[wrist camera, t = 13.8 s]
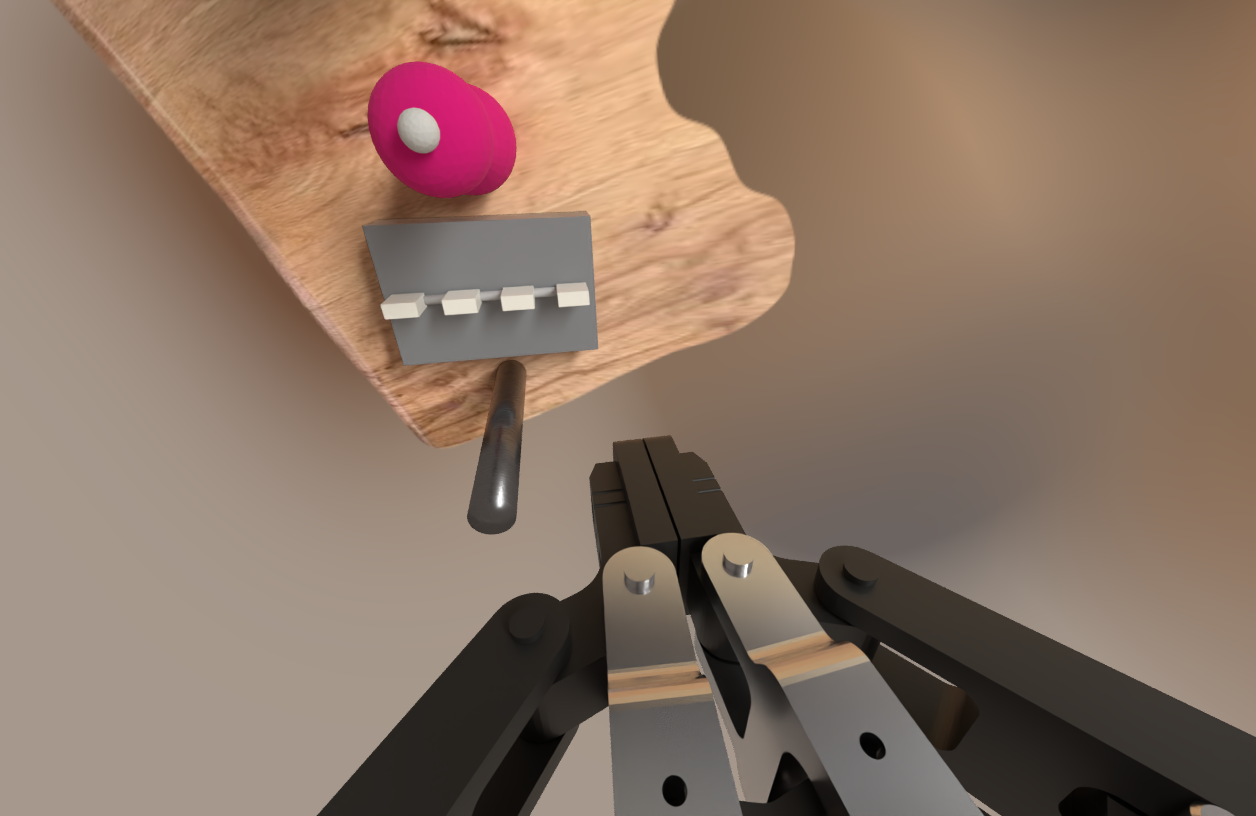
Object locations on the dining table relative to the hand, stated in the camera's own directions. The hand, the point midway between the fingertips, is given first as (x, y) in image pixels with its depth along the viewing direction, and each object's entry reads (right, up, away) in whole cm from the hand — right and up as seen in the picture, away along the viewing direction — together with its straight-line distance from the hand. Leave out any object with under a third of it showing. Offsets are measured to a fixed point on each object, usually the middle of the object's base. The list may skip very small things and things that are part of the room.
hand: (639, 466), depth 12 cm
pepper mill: (-13, +24, +25) cm, 37 cm away
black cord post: (-13, +5, +35) cm, 38 cm away
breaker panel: (-13, +14, +31) cm, 36 cm away
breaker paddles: (-12, +12, +27) cm, 32 cm away
